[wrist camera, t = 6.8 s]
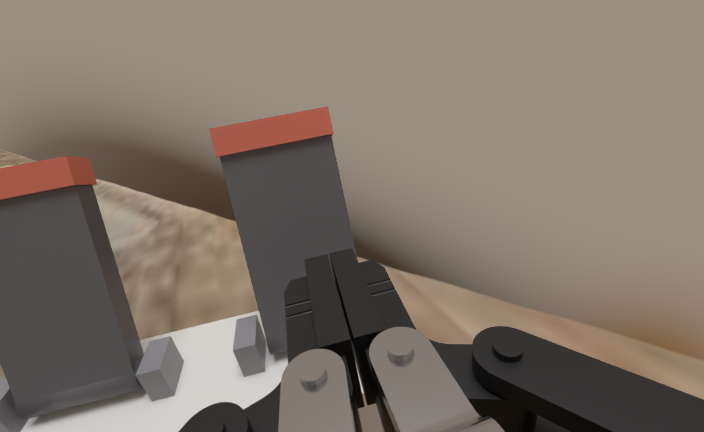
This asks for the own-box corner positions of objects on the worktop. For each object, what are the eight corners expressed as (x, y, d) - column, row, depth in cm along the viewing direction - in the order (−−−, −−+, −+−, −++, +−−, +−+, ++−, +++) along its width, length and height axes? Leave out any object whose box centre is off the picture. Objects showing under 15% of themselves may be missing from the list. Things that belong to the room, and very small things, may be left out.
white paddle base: (-7, 561, 15) (-108, 490, 12) (74, 411, 21) (18, 342, 19) (436, 428, 17) (432, 343, 15) (394, 326, 24) (384, 254, 21)
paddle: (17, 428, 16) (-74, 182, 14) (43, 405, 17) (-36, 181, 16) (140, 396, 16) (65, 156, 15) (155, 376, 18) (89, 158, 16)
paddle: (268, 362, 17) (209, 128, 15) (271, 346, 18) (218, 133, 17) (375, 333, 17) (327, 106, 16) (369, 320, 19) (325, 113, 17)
